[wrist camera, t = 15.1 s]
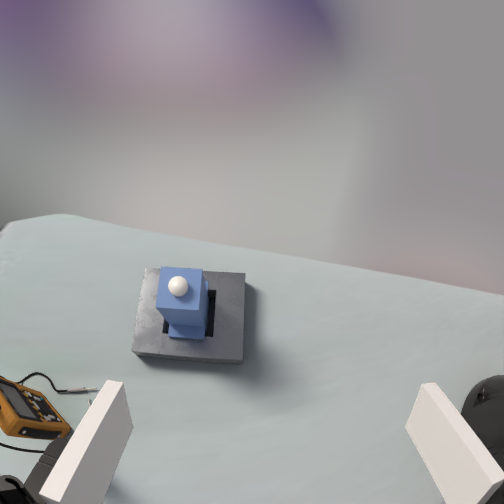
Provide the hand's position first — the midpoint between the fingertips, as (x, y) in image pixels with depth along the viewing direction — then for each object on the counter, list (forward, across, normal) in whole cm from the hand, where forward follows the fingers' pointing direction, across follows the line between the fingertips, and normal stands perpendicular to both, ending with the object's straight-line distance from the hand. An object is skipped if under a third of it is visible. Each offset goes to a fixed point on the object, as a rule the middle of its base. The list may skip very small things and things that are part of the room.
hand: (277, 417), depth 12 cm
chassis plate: (+29, -9, -9) cm, 32 cm away
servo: (+29, -9, -9) cm, 32 cm away
